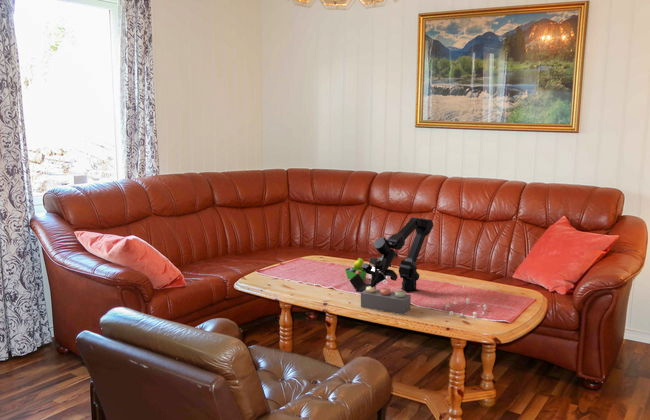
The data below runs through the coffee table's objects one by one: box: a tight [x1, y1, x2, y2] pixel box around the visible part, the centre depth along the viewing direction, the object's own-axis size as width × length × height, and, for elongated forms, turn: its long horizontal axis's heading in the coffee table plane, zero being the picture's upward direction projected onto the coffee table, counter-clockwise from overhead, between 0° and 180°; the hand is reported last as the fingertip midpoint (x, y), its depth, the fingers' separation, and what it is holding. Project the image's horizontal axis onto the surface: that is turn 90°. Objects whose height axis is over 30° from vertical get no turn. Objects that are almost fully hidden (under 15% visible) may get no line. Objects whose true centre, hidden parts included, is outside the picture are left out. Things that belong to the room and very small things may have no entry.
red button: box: [379, 288, 392, 295], centre depth 271 cm, size 5×5×4 cm
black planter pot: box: [349, 274, 376, 293], centre depth 301 cm, size 13×8×11 cm
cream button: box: [366, 286, 377, 293], centre depth 275 cm, size 5×5×4 cm
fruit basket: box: [344, 257, 367, 281], centre depth 316 cm, size 11×9×11 cm
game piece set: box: [444, 297, 487, 319], centre depth 267 cm, size 19×20×4 cm
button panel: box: [360, 288, 412, 316], centre depth 272 cm, size 22×8×7 cm, turn 59°
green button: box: [395, 290, 406, 298], centre depth 267 cm, size 5×5×4 cm
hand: (371, 286), depth 275 cm, fingers closed
